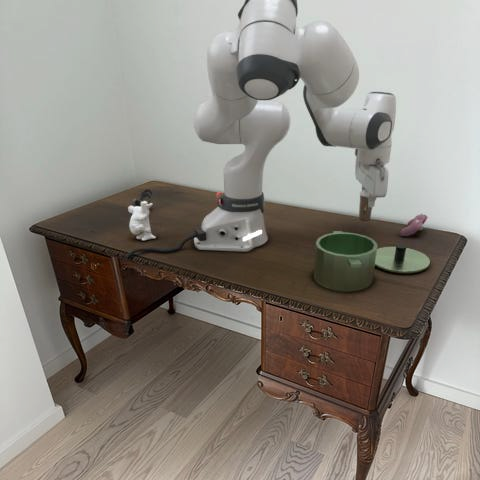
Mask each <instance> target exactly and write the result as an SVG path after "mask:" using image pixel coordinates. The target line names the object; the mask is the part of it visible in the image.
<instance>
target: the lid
mask: <svg viewBox="0 0 480 480" xmlns="http://www.w3.org/2000/svg"><path fill="white" fill-rule="evenodd" d="M430 264H431V260H430V258H429V256H427V255H426V254H425V253H423V252H421V251H419V250H416V249H413V248H408V247H407V245H405V244H402V243H401V244H400V243H399V244H396V246H385V247H380V248H377V253H376V260H375V267H376V268H378V269H381V270H383V271H386V272H389V273H390V272H391V273H396V274H415V273H419V272H423V271H425V270H426V269H428V268H429V266H430Z"/></svg>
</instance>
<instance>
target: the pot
mask: <svg viewBox="0 0 480 480" xmlns="http://www.w3.org/2000/svg"><path fill="white" fill-rule="evenodd" d="M378 246H379V245H378V243H377V241H376V240H374V239H373V238H371V237H369V236H367V235H364V234H361V233H355V232H347V231H346V232H345V231H343V230H333V231H332V233H326V234H323V235H321V236H320V237H318V238H317V240H316V241H315V248H314V249H315V250H314V265H313V278H314V281H315V282H316V283H317V285H319V286H321V287H323V288H324V289H326V290H330V291H335V292H340V293H341V292H342V293H351V292H359V291H362V290H365V289H367V288H369V287H370V286H371V285H372V283H373V280H374V274H375V273H374V272H375V267H376V266H375V260H376V253H377V249H378Z"/></svg>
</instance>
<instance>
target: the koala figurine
mask: <svg viewBox="0 0 480 480" xmlns="http://www.w3.org/2000/svg"><path fill="white" fill-rule="evenodd" d="M147 202H148V201H143V202H141V207H140V206H136V205H135V206H133V205H129V206H128V207H127V209H128V210H127V211H128V212H129V214H132V215H131V216H130V219H129V224H128V226H129V231H130V232H131V234H132V235H135V236H136V237H135V238H136V239H137V240H141V241H142V242H144V241H147V240H148V241H149V240H154V239H155V240H156V239H157V237H156V235H154V234H153V233H152V230H151V229H152V228H151V224H150V219H149V217H150V216H149V215H150V209H151V207H152V206H153V204H154V203H153V202H149V203H147ZM149 208H150V209H149Z"/></svg>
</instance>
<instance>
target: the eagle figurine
mask: <svg viewBox="0 0 480 480" xmlns="http://www.w3.org/2000/svg"><path fill="white" fill-rule="evenodd" d="M139 195H140V196H139V199H138V198H137V197H136V198H134V199H133V200H132V201H131V206H133V207H136V206H140V207H141V202H143V201H146V202H147V203H148V204H150V203H151V200H150V199H152V198H153V192H152V190H151V189H148V188H147V189H145V190H144V191H142V192H141V193H140V194H139ZM148 209H149V210H151V207H150V208H148Z"/></svg>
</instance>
